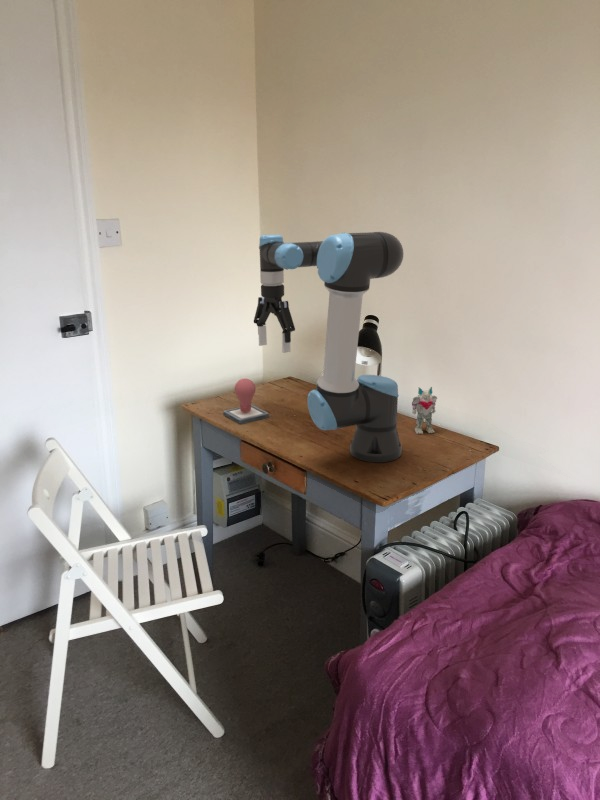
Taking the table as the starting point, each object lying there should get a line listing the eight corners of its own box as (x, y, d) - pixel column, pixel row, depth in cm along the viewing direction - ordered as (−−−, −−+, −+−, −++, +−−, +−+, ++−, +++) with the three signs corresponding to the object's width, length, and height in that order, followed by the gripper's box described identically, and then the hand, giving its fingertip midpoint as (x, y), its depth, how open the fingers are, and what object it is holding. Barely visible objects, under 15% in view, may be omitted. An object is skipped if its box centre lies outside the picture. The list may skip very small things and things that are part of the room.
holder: (269, 417, 223) (269, 413, 222) (240, 424, 216) (239, 420, 216) (251, 408, 232) (251, 404, 231) (223, 415, 225) (223, 410, 225)
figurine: (406, 432, 209) (408, 387, 204) (416, 424, 215) (418, 381, 210) (430, 436, 205) (433, 391, 200) (439, 429, 211) (442, 385, 206)
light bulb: (253, 416, 220) (252, 382, 216) (233, 415, 221) (231, 381, 217) (258, 409, 226) (257, 376, 222) (239, 408, 228) (237, 375, 224)
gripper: (305, 286, 202) (306, 353, 209) (260, 279, 221) (262, 340, 228) (285, 289, 198) (287, 357, 204) (241, 281, 217) (244, 344, 223)
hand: (274, 348), depth 216 cm, fingers open, 13 cm apart
